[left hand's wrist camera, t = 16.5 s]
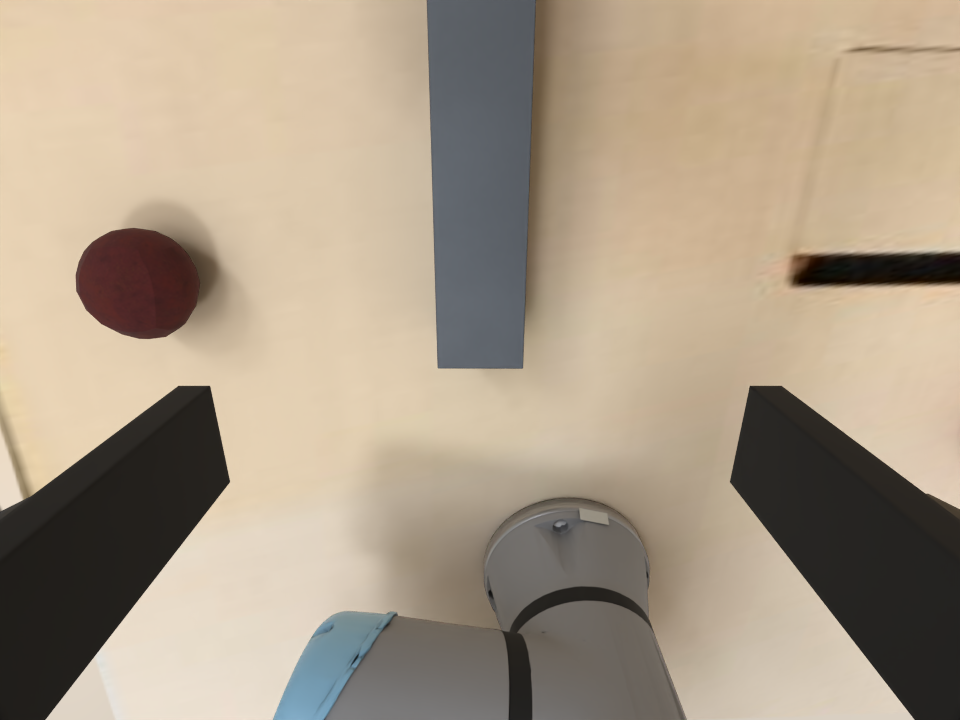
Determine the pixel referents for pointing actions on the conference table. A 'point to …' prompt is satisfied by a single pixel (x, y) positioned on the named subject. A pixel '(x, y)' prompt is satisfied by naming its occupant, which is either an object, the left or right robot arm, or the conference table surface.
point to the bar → (480, 176)
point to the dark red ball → (138, 283)
